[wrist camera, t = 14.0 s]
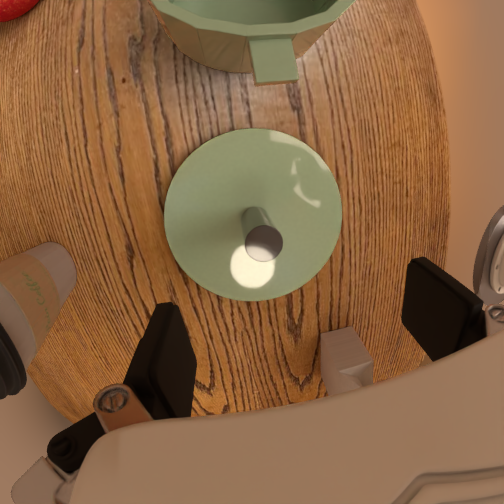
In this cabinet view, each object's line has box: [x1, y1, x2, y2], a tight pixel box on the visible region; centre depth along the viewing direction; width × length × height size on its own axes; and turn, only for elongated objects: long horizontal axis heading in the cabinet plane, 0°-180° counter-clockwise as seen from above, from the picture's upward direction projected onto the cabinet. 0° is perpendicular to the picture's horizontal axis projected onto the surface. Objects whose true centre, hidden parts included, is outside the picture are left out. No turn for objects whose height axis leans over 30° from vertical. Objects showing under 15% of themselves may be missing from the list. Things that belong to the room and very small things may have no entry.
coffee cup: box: [0, 242, 77, 399], centre depth 17 cm, size 9×9×15 cm
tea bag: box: [321, 326, 374, 396], centre depth 25 cm, size 4×7×10 cm, turn 9°
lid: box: [164, 128, 342, 301], centre depth 21 cm, size 15×15×7 cm
